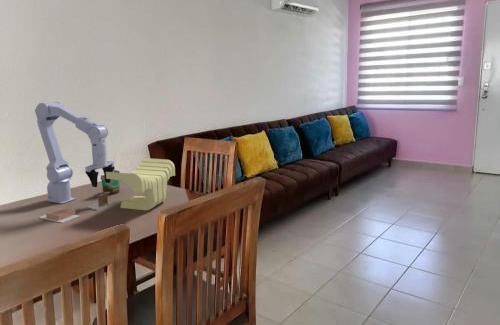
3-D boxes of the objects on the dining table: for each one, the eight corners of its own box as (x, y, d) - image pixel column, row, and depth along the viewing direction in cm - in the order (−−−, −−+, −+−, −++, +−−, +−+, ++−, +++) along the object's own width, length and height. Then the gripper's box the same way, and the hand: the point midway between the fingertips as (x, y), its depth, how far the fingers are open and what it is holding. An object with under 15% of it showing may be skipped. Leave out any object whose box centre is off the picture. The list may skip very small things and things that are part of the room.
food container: (113, 196, 185) (112, 176, 183) (101, 196, 186) (100, 175, 184) (126, 189, 197) (125, 170, 195) (115, 189, 198) (114, 169, 196)
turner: (100, 204, 175) (99, 193, 174) (110, 205, 173) (109, 194, 172) (86, 209, 168) (85, 197, 167) (96, 211, 166) (95, 199, 165)
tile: (62, 211, 163) (46, 217, 156) (62, 207, 162) (45, 213, 155) (75, 214, 160) (59, 220, 153) (75, 210, 160) (58, 216, 153)
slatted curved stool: (143, 217, 158) (141, 174, 154) (108, 213, 162) (105, 171, 158) (175, 196, 186) (174, 160, 183) (145, 194, 190) (143, 158, 187)
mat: (38, 217, 156) (38, 217, 156) (56, 211, 163) (56, 211, 163) (62, 223, 151) (62, 222, 151) (79, 216, 158) (79, 215, 158)
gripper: (93, 157, 160) (95, 189, 163) (118, 152, 173) (120, 181, 176) (80, 156, 163) (83, 187, 166) (106, 150, 176) (108, 180, 179)
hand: (101, 184), depth 171 cm, fingers open, 7 cm apart
